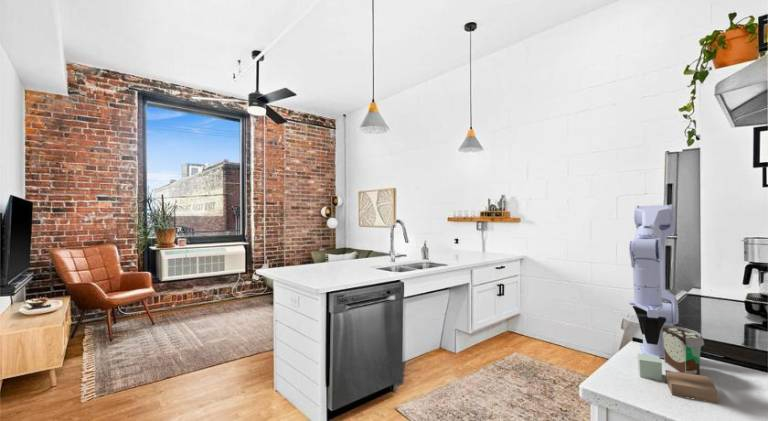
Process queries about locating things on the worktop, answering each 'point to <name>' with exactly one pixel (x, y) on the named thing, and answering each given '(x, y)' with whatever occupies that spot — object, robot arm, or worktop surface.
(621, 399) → the worktop surface
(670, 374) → the walnut block
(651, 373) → the sage cube
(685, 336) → the food container
